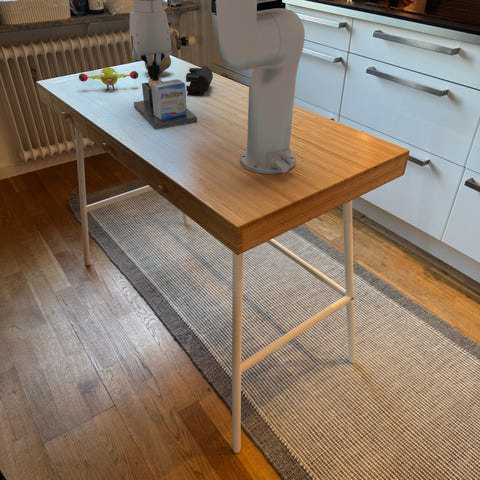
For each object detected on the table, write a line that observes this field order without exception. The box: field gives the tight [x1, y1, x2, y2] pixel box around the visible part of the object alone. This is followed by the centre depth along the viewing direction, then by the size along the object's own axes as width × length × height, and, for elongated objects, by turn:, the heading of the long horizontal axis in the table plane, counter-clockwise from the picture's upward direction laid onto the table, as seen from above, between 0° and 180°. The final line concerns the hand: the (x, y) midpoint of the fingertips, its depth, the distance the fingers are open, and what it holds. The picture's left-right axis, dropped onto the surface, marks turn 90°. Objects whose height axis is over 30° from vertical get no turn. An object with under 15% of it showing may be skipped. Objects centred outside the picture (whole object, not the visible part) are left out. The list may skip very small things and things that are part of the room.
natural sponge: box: [144, 54, 172, 75], centre depth 153 cm, size 9×9×10 cm
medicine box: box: [151, 79, 188, 120], centre depth 119 cm, size 8×4×9 cm, turn 124°
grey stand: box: [133, 80, 198, 130], centre depth 124 cm, size 18×12×6 cm, turn 28°
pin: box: [147, 77, 163, 88], centre depth 127 cm, size 4×4×5 cm
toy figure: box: [78, 67, 139, 91], centre depth 140 cm, size 18×6×7 cm, turn 103°
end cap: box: [185, 65, 214, 97], centre depth 140 cm, size 10×7×7 cm
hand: (154, 78), depth 125 cm, fingers closed
